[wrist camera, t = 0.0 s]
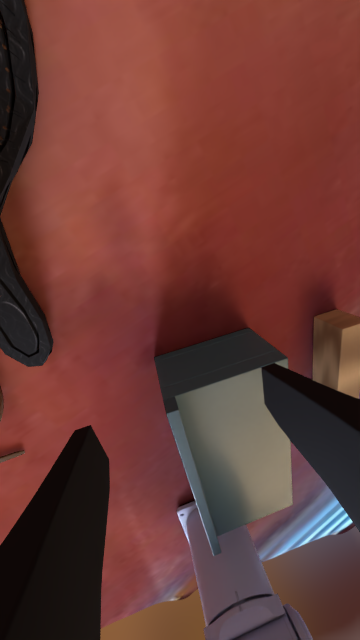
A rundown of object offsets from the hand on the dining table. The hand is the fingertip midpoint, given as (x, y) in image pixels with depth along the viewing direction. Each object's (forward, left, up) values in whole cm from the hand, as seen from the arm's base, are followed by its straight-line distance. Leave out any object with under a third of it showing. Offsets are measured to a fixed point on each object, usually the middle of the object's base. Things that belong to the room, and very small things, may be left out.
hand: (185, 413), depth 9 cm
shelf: (-12, -3, -10) cm, 16 cm away
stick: (-12, -16, -10) cm, 22 cm away
